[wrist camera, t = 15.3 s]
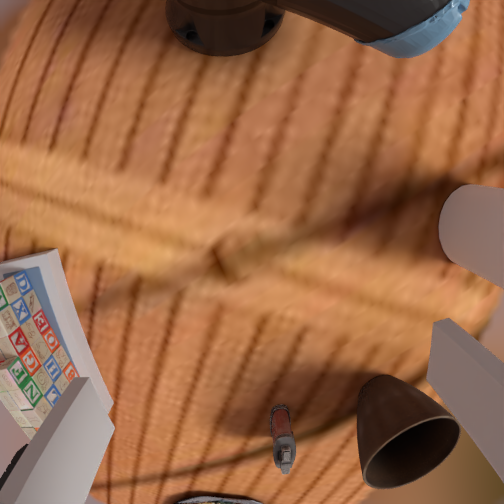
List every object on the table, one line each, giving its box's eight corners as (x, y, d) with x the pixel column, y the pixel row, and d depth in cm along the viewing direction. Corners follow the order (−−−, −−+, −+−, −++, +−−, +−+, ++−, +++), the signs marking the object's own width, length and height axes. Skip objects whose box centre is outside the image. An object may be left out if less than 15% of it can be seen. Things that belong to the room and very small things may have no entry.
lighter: (289, 436, 49) (297, 479, 40) (269, 437, 49) (274, 481, 40) (290, 403, 47) (299, 447, 38) (269, 405, 47) (274, 450, 38)
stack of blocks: (1, 279, 38) (-50, 310, 26) (25, 268, 37) (-29, 299, 25) (63, 396, 43) (32, 444, 31) (90, 392, 42) (60, 445, 31)
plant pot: (317, 402, 48) (340, 476, 32) (385, 338, 45) (434, 401, 30) (369, 433, 50) (397, 496, 35) (430, 379, 48) (474, 434, 32)
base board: (3, 261, 40) (-8, 266, 37) (57, 248, 40) (46, 254, 37) (60, 401, 47) (53, 411, 44) (113, 402, 47) (107, 414, 44)
